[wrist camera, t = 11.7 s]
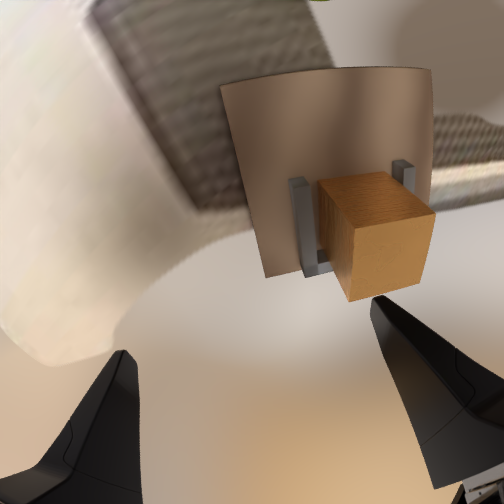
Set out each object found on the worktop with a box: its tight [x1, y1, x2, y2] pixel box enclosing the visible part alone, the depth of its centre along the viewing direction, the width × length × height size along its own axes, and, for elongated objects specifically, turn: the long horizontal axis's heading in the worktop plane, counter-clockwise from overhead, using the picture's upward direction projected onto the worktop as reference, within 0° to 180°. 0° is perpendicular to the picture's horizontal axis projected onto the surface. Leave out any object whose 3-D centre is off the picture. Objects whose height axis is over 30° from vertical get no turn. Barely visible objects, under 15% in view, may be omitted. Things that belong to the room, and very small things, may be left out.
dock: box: [220, 66, 433, 278], centre depth 18 cm, size 14×14×3 cm
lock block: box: [317, 171, 436, 302], centre depth 17 cm, size 5×5×6 cm
